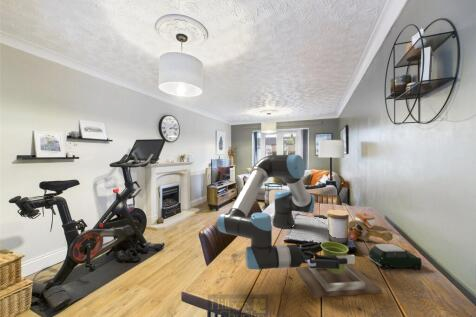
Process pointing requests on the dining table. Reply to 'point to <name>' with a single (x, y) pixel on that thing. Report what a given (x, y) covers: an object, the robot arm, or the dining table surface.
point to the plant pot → (334, 253)
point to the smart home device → (320, 216)
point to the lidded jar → (369, 218)
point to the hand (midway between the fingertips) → (346, 253)
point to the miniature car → (393, 257)
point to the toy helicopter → (365, 230)
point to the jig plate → (336, 282)
